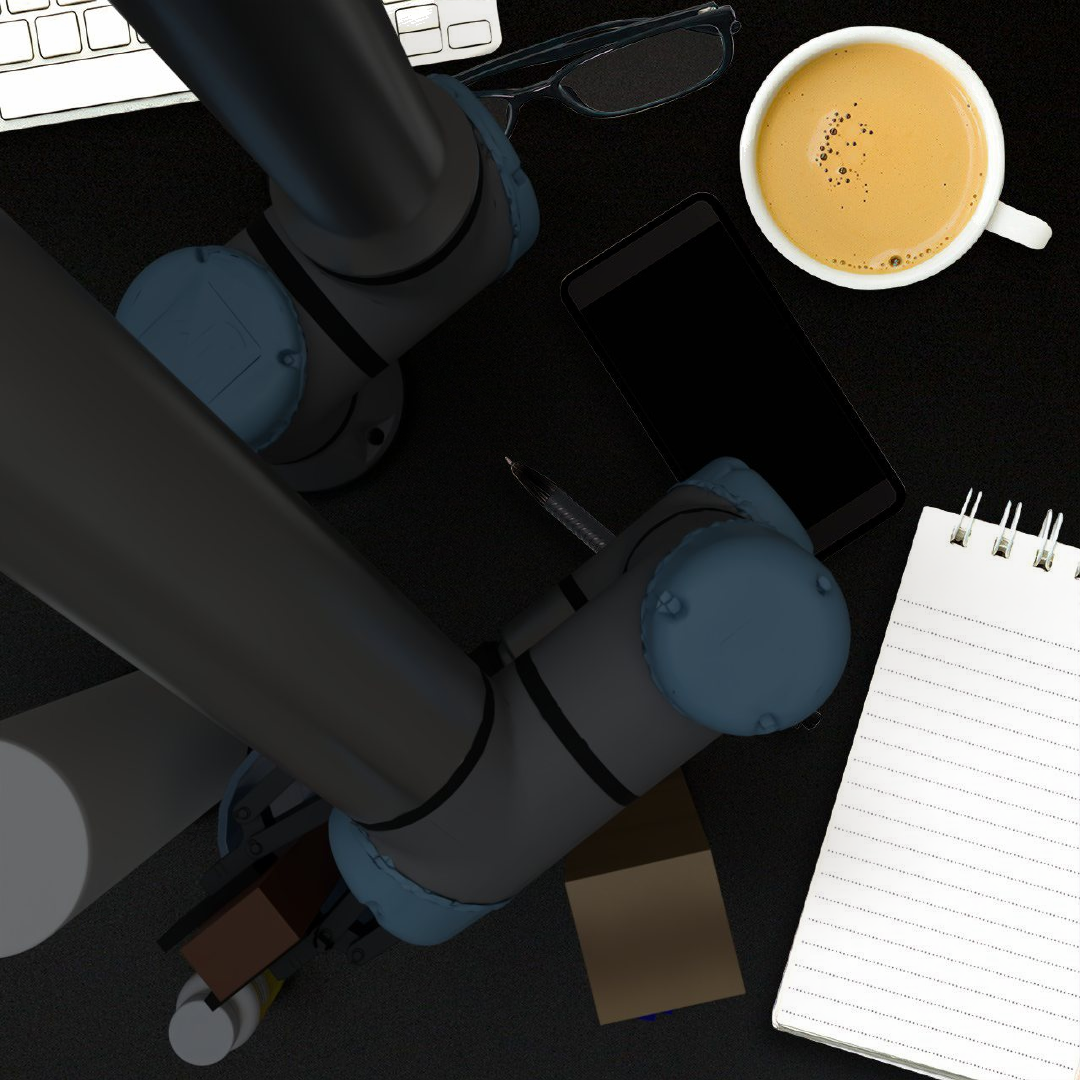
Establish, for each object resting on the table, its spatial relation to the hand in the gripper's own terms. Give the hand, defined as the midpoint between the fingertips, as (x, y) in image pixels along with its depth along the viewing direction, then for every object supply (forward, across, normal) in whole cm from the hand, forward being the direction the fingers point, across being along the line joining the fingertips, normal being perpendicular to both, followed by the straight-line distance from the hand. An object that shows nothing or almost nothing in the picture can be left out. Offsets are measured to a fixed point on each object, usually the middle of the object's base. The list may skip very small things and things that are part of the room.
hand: (195, 964), depth 51 cm
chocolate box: (-5, 0, -6) cm, 8 cm away
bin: (-5, 0, -27) cm, 27 cm away
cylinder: (+7, +12, -27) cm, 30 cm away
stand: (-20, -14, -27) cm, 36 cm away
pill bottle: (+13, -6, -27) cm, 30 cm away
